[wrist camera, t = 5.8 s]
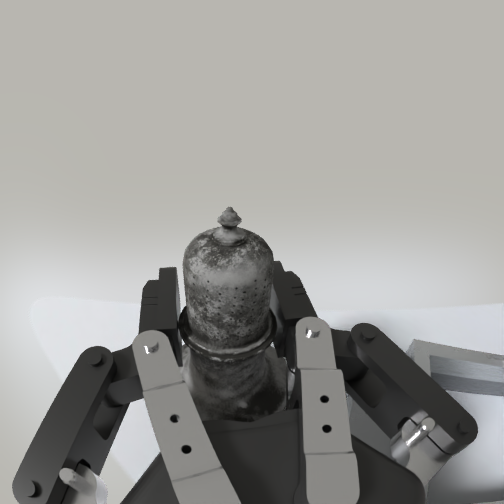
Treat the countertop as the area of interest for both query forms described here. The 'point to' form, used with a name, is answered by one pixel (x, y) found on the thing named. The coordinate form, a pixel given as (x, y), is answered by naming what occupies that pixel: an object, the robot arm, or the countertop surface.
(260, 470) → the robot arm
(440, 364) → the grey rectangular frame
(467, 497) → the countertop surface
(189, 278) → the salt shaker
